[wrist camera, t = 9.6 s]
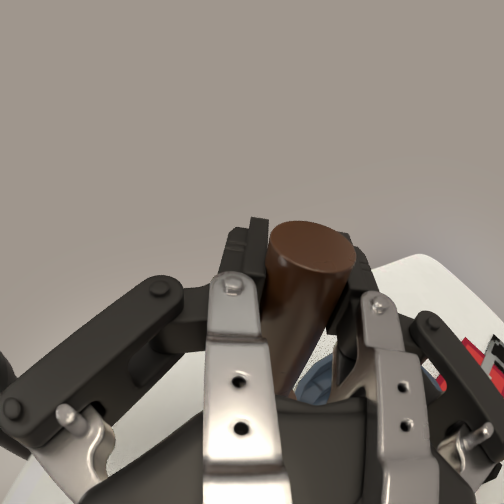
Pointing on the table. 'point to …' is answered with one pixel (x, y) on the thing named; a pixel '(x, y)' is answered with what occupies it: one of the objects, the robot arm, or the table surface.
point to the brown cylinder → (300, 294)
